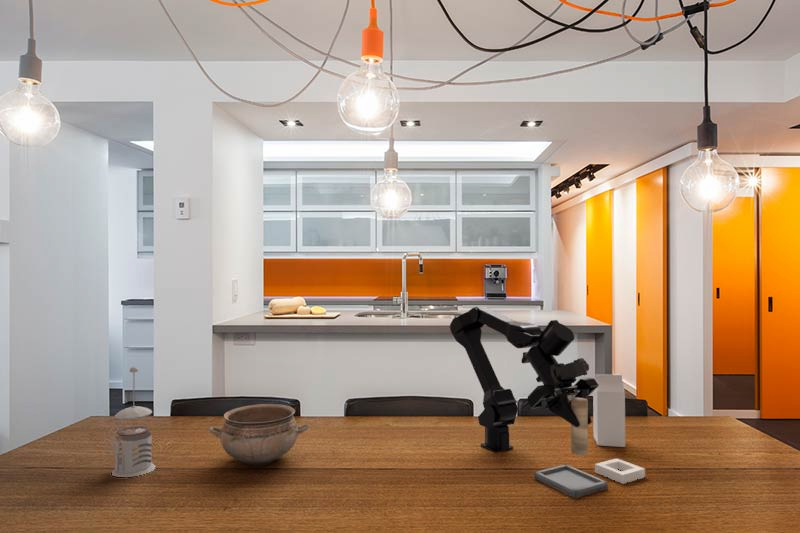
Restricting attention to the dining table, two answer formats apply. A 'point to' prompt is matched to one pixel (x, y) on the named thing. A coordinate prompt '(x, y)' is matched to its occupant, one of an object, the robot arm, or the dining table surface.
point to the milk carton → (609, 410)
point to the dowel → (580, 427)
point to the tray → (571, 481)
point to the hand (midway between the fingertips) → (584, 424)
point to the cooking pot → (259, 433)
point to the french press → (132, 443)
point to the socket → (627, 474)
